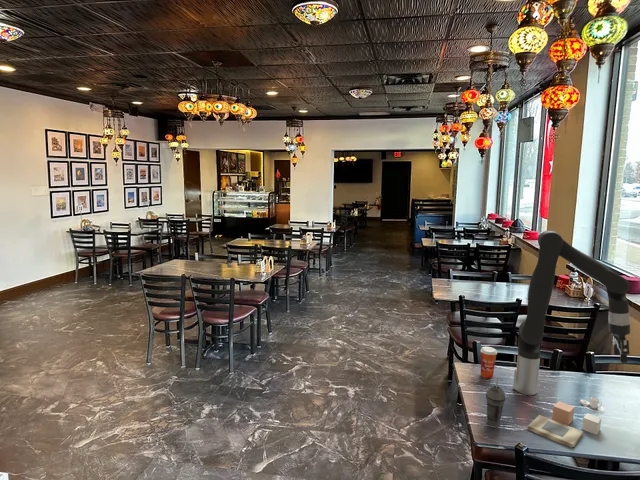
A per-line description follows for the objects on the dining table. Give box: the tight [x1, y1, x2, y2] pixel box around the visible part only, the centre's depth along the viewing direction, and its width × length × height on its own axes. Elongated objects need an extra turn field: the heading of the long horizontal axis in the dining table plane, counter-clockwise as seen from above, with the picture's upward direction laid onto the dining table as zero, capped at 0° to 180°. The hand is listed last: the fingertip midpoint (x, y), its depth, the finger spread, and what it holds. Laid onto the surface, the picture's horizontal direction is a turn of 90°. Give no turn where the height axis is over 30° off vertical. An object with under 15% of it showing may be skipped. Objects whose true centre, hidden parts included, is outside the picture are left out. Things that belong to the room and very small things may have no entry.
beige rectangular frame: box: [527, 414, 584, 448], centre depth 166 cm, size 16×12×2 cm
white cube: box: [581, 413, 602, 435], centre depth 169 cm, size 5×5×5 cm
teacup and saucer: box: [579, 397, 605, 413], centre depth 186 cm, size 9×8×4 cm
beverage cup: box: [485, 377, 507, 428], centre depth 170 cm, size 7×7×20 cm
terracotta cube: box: [551, 400, 575, 426], centre depth 175 cm, size 6×6×6 cm
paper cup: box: [479, 346, 498, 379], centre depth 213 cm, size 8×8×14 cm
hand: (620, 358), depth 184 cm, fingers open, 8 cm apart
